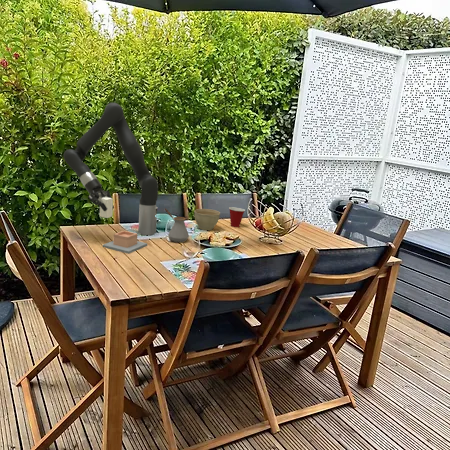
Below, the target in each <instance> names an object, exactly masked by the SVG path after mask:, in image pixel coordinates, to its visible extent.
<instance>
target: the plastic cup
mask: <svg viewBox="0 0 450 450" xmlns="http://www.w3.org/2000/svg"><path fill="white" fill-rule="evenodd" d="M228 209H229V217H230V226H231V227H233V228H239V227H240V226H241V222H242V220H243V216H244V213H245V212H246V209H244V208H240V207H233V206H231V207H230V206H229V207H228Z"/></svg>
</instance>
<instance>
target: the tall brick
mask: <svg viewBox="0 0 450 450" xmlns="http://www.w3.org/2000/svg"><path fill="white" fill-rule="evenodd" d="M101 200H102V201H103V203H104V204H105V206H106V207H107V210H106V211H104V210H103V209H102V208H101V207H100V206H99V217H101V218H105V219H109V218H111V217H113V211H114V210H113V209H114V208H113V206H114V204H113V203H114V202H113V201H114V199H113V198H108V197H104V198H102V199H101Z"/></svg>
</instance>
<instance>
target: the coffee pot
mask: <svg viewBox="0 0 450 450" xmlns="http://www.w3.org/2000/svg"><path fill="white" fill-rule="evenodd" d="M162 211H165V212H166V213H167V215H168V216H169V217H170V218H171V219H172V220H173V221H174V222H173V225H172V226H171V229H170V230H169V233H168V238H169V239H170V240H171V241H172V242H175V243H185V242H186V241H187V240H188V239H189V237H190V235H189V232H188V229H187V226H186V224H185V220H186V219H187V218H186V217H184V216H173V215H172V213H171V212H170V211H169V210H168V209H167V208H166V207H165V208H164V209H162ZM184 241H185V242H184Z"/></svg>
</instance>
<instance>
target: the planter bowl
mask: <svg viewBox="0 0 450 450" xmlns="http://www.w3.org/2000/svg"><path fill="white" fill-rule="evenodd" d="M193 213H194V220H195V223H196V224H197V226H198V227H197V228H198V229H200V230H203V231H212V230H214V229H215V227H216V225H217V224H218V223H219V219H220V216H221V212H220V211H218V210H216V209H210V208H198V209H195V210H194V212H193Z"/></svg>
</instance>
